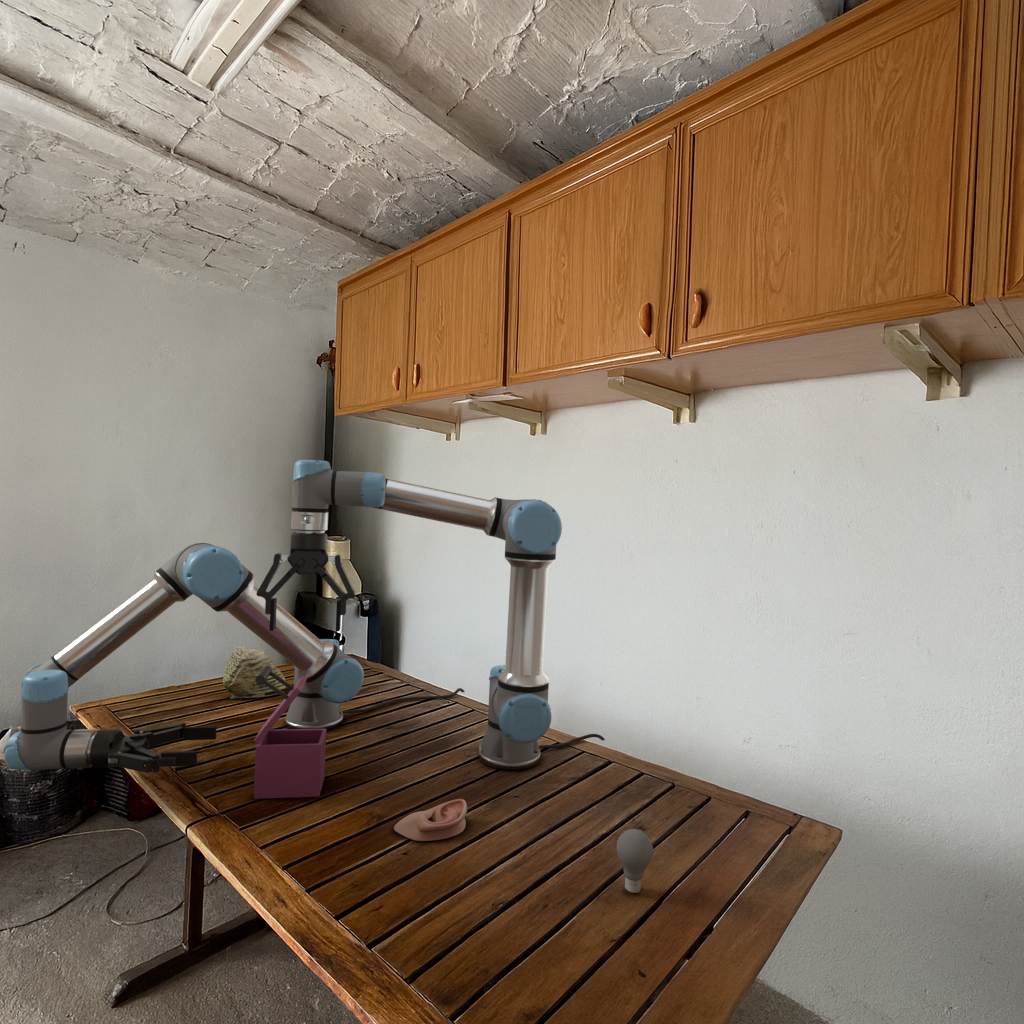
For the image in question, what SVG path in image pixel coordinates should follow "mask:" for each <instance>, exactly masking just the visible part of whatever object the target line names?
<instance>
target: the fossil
mask: <svg viewBox="0 0 1024 1024" xmlns="http://www.w3.org/2000/svg"><path fill="white" fill-rule="evenodd" d="M265 666H270V667H271V668H272V672H273V673H275V674H276V675H278V676H279V677H280V678H282V679H283V680H285V681H286V682H287V680H286V678H285V676H284V674H283V673H282V672H281V669H279V668H278V667H277V665H276V663H275V662H274V660H273V659H272V658H271V657H270V656H269V655H268V654H267V653H266V652H265V650H264V649H263V648H260V647H258V648H251V647H247V646H246V647H245V646H238V647H237V648H236V649H235V650H233V651H232V653H231V656H230V657H229V659H228V660H227V663H226V666H225V668H224V671H223V675H222V676H223V677H222V685H223V687H224V688H225V690H226V691H228V693H229V698H230V699H250V698H264V697H271V696H275V695H279V694H278V693H276V692H275V691H273V690H272V689H270V688H269V687H268V686H266V685H265V684H263V683H262V684H258V683H256V681H255V679H256V677H257V676H258V674H259V673H260V672H261V671H262V669H263V668H264V667H265ZM266 680H267V681H268V682H269V683H271V684H272V685H274V686H275V687H277V688H278V689H279V690H281V691H282V692H284V693H285V691H286V689H287V687H286V686H284V685H283V684H282V683H280V682H279V681H277V680H276V679H275V678H273V677H272V676H270V675H269V676H268V677H267V679H266Z"/></svg>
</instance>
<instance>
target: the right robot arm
mask: <svg viewBox="0 0 1024 1024" xmlns="http://www.w3.org/2000/svg"><path fill="white" fill-rule="evenodd" d="M293 466H294V467H293V476H292V481H291V482H292V488H291V489H292V491H291V493H292V497H291V520H290V521H291V522H290V529H291V530H292V532H291V533H290V546H289V547H290V548H289V549H290V550H289V553H288V554H284V553H281V552H277V553H275V554H274V556H273V562H272V565H271V566H270V568H269V570H268V572H267V574H266V575H265V577H264V579H263V580H262V582H261V584H260V586H259V589H258V591H257V593H256V595H257V596H259V597H263V598H264V599H265V613H266V614H270V631H273V630H274V629H275V628H276V607H277V604H278V603H277V601H278V598H276V597H274V596H275V595H277V593H278V592H279V591H280V590H281V589H282V588H283V587H284V586H285V585H286V584H287V583H288V581H289V580H290V579H292V578H293V576H294V575H295V574H297V575H299V576H305V575H308V576H316V575H319V576H320V577H321V578H322V579H323V580H324V581H325V582H326V583H327V586H329V588H331V590H332V591H333V592H334V594H335V595H336V596H337V597H338V599H337V600H336V613H335V632H340V630H341V623H342V622H341V621H342V616H345V615H346V613H347V605H348V603H347V602H348V600H350V599H353V598H355V597H356V590H355V589H354V586H353V585H352V582H351V580H350V578H349V576H348V574H347V572H346V570H345V568H344V565H343V557H342V555H341V554H338V553H337V554H336V555H328V534H327V533H326V531H328V529H329V528H328V526H329V506H346V507H366V508H371V509H376V510H383V511H387V512H392V513H398V514H402V515H407V516H412V517H415V518H421V519H426V520H431V521H435V522H440V523H445V524H450V525H455V526H460V527H463V528H470V529H475V530H480V531H483V533H484V534H485V535H486V536H488V537H493V538H496V539H500V540H502V541H504V559H505V560H506V561H507V563H508V564H509V565H510V573H509V593H508V611H507V612H508V613H507V631H506V646H505V647H506V649H505V664H498V665H494V666H493V667H491V669H490V670H489V673H490V674H489V677H488V680H489V689H488V709H487V711H488V713H487V726H486V730H485V732H484V735H483V737H482V741H481V743H479V745H478V758H479V760H480V761H481V763H483V764H485V765H486V766H488V767H491V768H493V769H498V770H505V771H521V770H527V769H530V768H532V767H534V766H537V765H538V764H539V763H540V761H541V750H543V749H545V750H546V749H561V748H564V747H567V746H570V745H572V744H574V743H576V742H580V741H582V740H583V741H584V740H587V739H591V738H598V739H599V740H600V741H606V739H605V738H604V737H603V736H602V735H601V734H598V733H588V734H585V735H582V736H579V737H574V738H572V739H570V740H568V741H566V742H561V743H557V744H556V743H555V744H540V745H539V741H538V740H540V739H541V738H542V737H543V736H545V734H546V733H547V732H548V731H549V729H550V727H551V723H552V719H553V718H552V709H551V706H550V704H549V690H550V689H549V687H550V686H549V685H550V679H549V677H548V676H547V675H546V674H545V673H544V654H545V637H546V636H545V635H546V621H547V620H546V617H547V603H548V602H547V600H548V581H549V568H550V566H552V564H554V563H555V562H556V559H557V558H556V556H557V545H558V543H559V541H560V538H561V537H562V533H563V532H562V531H563V524H562V519H561V516H560V515H559V513H558V511H557V509H555V508H554V507H553V506H552V505H551V504H549V503H548V502H546V501H545V500H544V501H543V500H541V499H536V498H532V499H527V498H526V499H509V498H508V499H507V498H499V497H495V496H494V497H493V498H491V499H486V498H480V497H477V496H476V497H475V496H471V495H468V494H462V493H457V492H453V491H448V490H443V489H439V488H433V487H430V486H429V487H428V486H424V485H419V484H415V483H410V482H404V481H400V480H396V479H392V478H391V479H390V478H386V476H385V474H384V473H382V472H381V473H380V472H373V471H346V470H345V471H342V470H333V469H332V467H331V463H330V462H329V461H327V460H316V459H299V460H296V462H295V463H294V464H293ZM286 561H287V562H288V563H289V565H290V567H291V568H290V569H289V570H288V571H287V572H286V573H285V574H284V575H283V576H282V578H280V579H279V580H278V581H277V583H276V584H275V585H274V586H273V587H272V588H271V589H270V590H269V591H267V590H268V588H269V586H270V584H271V583H272V581H273V579H274V577H275V575H276V574H277V572H278V570H279V568H280V567H281V565H283V564H284V563H285V562H286ZM328 562H330V563H331V565H332V566H335V569H336V571H337V573H338V576H339V578H340V580H341V582H342V584H343V586H344V588H345V590H344V589H342V587H341V586H340V585H339V583H337V581H336V580H335V579H334V578H333V576H332V575H331V574H330V572H329V571H328V569H326V568H325V566H326V565H327V564H328ZM345 591H346V592H345Z"/></svg>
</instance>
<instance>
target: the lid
mask: <svg viewBox="0 0 1024 1024" xmlns="http://www.w3.org/2000/svg"><path fill="white" fill-rule="evenodd" d="M269 675H270V676H272V677H273V678H275V679H276V680H277V681H279V682H280V683H282V684H283V685H284V686H286V689H287V688H288V689H289V690H290V691H289V692H288V693H285V691H284V692H282V691H281V690H279V689H278V688H277V687H275V686H274V685H272V684H271V683H269V682H268V681H267V680H266V679H267V677H268V676H269ZM285 680H286V679H285ZM285 680H283V679H282V678H280V677H279V676H278V675H276V674H275V673H273V672H272V668H271V667H270V666H265V667H264V668H263V669H262V671H261V672H260V673H259V674H258V676H257V677H256V679H255V681H256V683H258V684H262V683H263V684H265V685H266V686H268V687H269V688H270V689H272V690H273V691H275V692H276V693H278V694H277V695H279V696H280V697H282V698H283V700H282V701H281V702H280V703H279V705H278V706H276V708H275V709H274V711H273V712H272V713H271V714H270V716H269V717H268V719H266V721H265V722H264V723H263V724H262V726H261V728H260V729H259V731H258V733H257V734H256V736H255V738H254V739H253V742H254V743H255V744H256V745H257V744H259V743H260V742H261V741H262V739H263V738H264V737H265V736H266V734H267V733H268V732H269V731H270V730H272V728H273V727H274V726H275V724H276V723H277V721H279V719H280V718H281V717H282V716H283V714H284V713H286V711H287V709H289V707H290V704H291V703H292V702H293V700H294V699H295V698H296V697H297V695H298V694H299V693H300V692H301V690H302V688H303V686H304V684H305V682H306V680H307V678H306V677H304V676H302V677H301V678H300V680H299V681H298V682H297V683H296V685H295V686H294V685H292V684H290V683H289V682H287V680H286V681H285Z"/></svg>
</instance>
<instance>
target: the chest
mask: <svg viewBox="0 0 1024 1024" xmlns="http://www.w3.org/2000/svg"><path fill="white" fill-rule="evenodd" d="M326 749H327V730H326V729H289V728H287V729H285V728H284V729H270V731H269V732H268V733H267V734H266V736H265V737H264V738H263V739H262V741H261V742H260V743H259V744H257V743H256V745H255V758H254V759H255V760H254V785H253V786H254V788H253V799H254V800H263V799H289V798H319V797H320V795H321V791H322V788H323V784H324V781H325V777H326V775H325V774H326V752H327V751H326Z"/></svg>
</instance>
